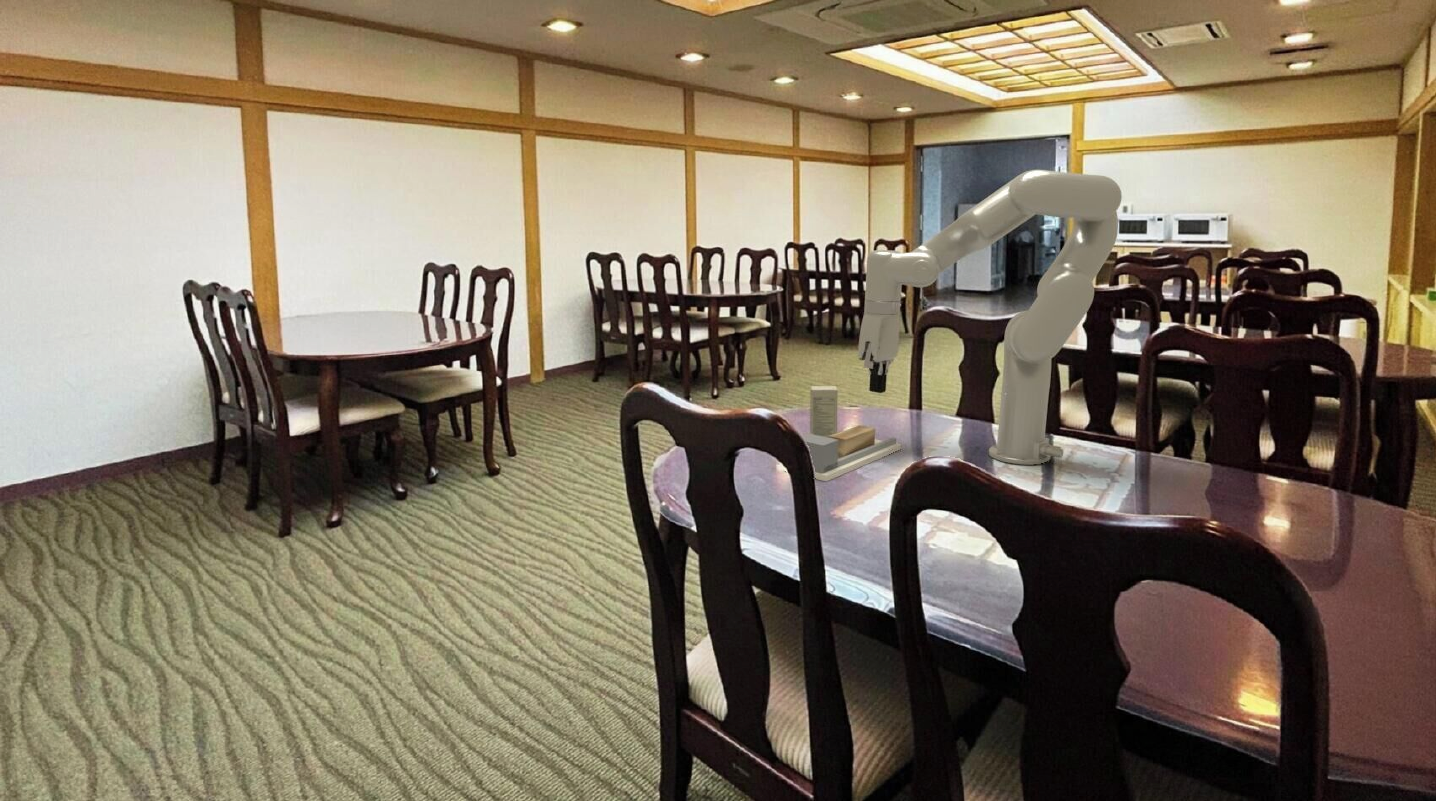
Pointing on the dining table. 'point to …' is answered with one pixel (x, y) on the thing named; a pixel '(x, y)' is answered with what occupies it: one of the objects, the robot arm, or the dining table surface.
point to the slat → (854, 440)
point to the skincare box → (823, 410)
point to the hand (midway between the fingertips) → (877, 391)
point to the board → (832, 467)
